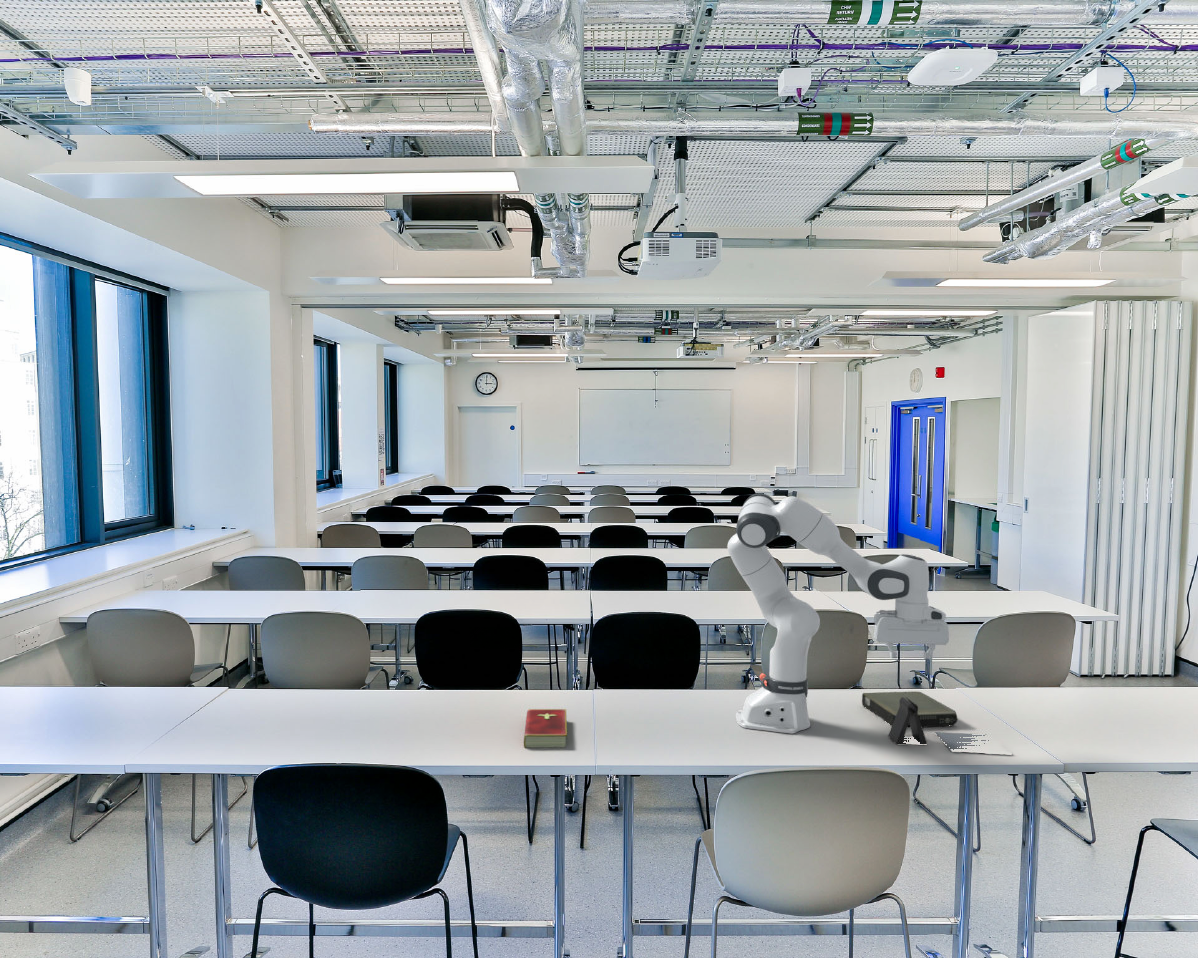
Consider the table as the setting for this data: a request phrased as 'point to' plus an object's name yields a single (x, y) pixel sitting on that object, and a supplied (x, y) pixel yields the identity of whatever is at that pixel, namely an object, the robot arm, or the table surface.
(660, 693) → the table surface
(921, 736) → the black slotted holder
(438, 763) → the table surface
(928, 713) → the network switch
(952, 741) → the rubber mat
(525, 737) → the hardcover book
